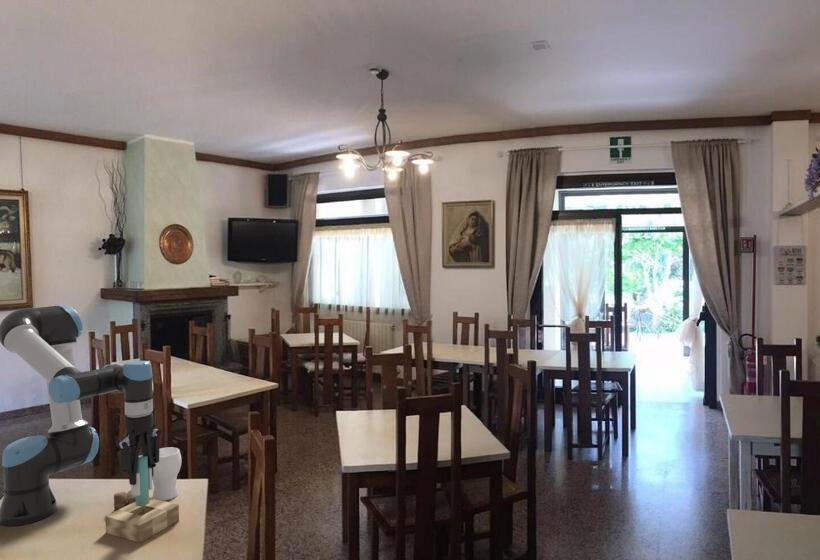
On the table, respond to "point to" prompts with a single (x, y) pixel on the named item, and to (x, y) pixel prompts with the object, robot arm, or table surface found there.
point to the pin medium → (130, 498)
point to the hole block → (142, 520)
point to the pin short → (120, 500)
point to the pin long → (143, 481)
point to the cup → (166, 474)
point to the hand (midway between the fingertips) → (142, 491)
